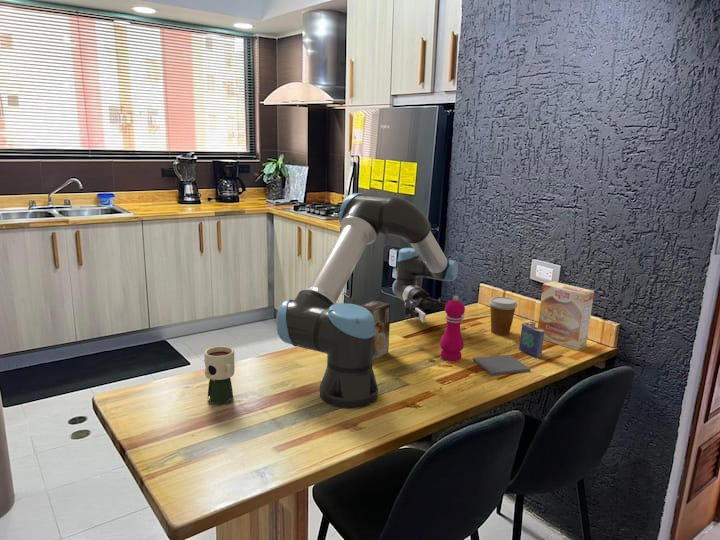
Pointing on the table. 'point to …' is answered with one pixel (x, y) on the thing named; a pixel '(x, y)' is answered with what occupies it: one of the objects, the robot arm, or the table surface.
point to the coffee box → (380, 326)
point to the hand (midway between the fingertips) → (444, 316)
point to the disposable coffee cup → (502, 314)
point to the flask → (531, 339)
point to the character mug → (219, 373)
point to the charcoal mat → (500, 364)
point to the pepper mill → (453, 331)
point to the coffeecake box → (565, 314)
